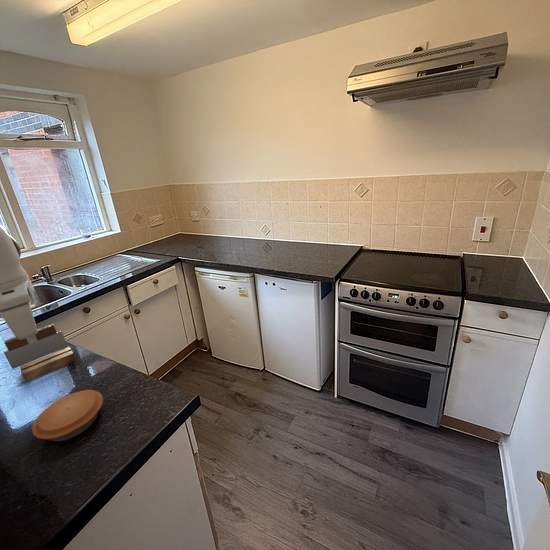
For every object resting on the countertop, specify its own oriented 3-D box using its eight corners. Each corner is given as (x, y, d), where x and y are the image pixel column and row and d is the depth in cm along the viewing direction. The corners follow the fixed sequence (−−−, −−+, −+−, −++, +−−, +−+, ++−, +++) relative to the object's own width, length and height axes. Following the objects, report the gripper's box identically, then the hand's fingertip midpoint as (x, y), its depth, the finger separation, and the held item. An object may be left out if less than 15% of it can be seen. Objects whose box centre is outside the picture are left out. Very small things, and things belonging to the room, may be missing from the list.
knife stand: (27, 386, 93) (21, 374, 92) (25, 377, 98) (20, 366, 96) (77, 364, 102) (73, 353, 100) (74, 357, 106) (69, 346, 105)
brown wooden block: (12, 370, 73) (-1, 345, 71) (12, 367, 75) (-1, 342, 72) (68, 347, 81) (58, 323, 78) (67, 345, 82) (57, 321, 79)
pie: (22, 441, 73) (14, 426, 72) (80, 395, 87) (74, 382, 85) (65, 457, 68) (57, 441, 66) (119, 406, 81) (114, 391, 80)
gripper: (-9, 285, 76) (14, 332, 81) (-8, 307, 62) (20, 362, 67) (22, 277, 80) (42, 322, 85) (29, 296, 65) (53, 349, 70)
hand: (32, 340), depth 76 cm, fingers closed on brown wooden block, 2 cm apart
